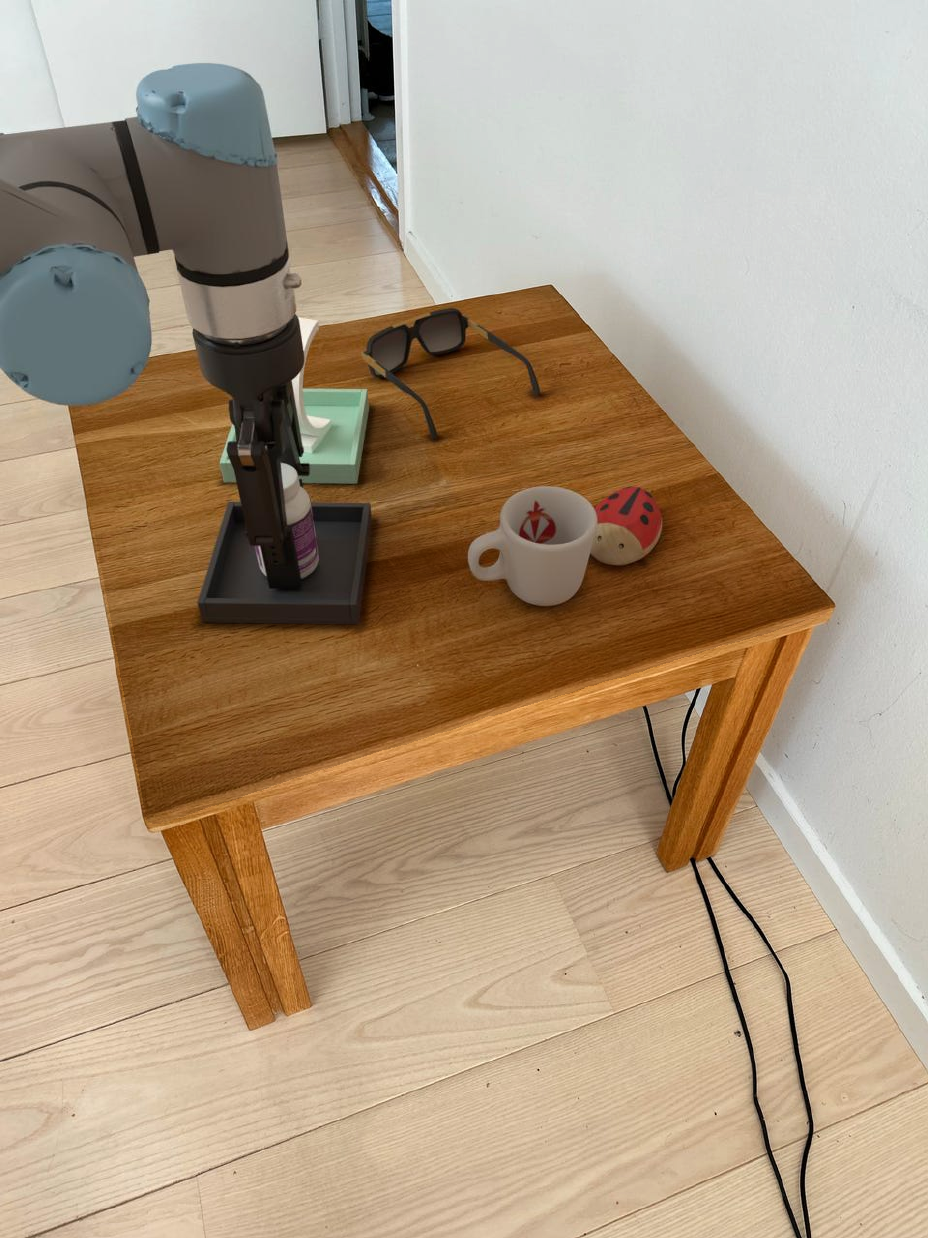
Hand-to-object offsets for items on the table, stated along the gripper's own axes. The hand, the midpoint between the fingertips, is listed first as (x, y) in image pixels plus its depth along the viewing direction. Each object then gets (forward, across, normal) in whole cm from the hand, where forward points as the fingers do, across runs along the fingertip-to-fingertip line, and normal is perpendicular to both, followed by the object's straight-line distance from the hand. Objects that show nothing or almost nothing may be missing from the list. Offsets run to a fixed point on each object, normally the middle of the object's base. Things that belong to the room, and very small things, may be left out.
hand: (290, 561), depth 82 cm
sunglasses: (+1, +30, -13) cm, 33 cm away
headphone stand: (+1, +19, +2) cm, 19 cm away
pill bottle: (+1, 0, 0) cm, 1 cm away
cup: (+1, -2, -21) cm, 21 cm away
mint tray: (+1, +19, +2) cm, 19 cm away
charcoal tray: (+1, 0, 0) cm, 1 cm away
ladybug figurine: (+1, +5, -30) cm, 30 cm away
